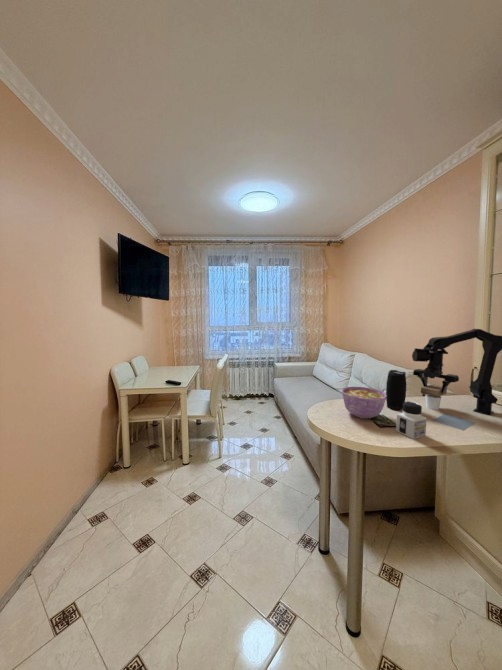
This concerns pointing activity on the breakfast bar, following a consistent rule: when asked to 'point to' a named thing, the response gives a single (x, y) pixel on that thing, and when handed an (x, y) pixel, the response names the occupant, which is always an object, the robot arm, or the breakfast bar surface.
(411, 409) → the container
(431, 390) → the brown rectangular block
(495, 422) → the breakfast bar surface
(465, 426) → the rubber mat
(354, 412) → the bowl of food
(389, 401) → the portable speaker
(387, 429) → the breakfast bar surface
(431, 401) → the white cup
